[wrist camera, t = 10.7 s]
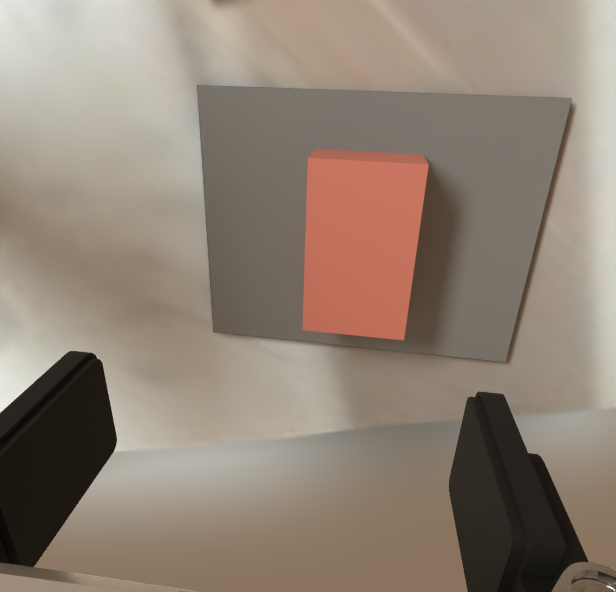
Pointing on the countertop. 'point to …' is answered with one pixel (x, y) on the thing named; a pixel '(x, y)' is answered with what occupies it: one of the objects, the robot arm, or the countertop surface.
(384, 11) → the countertop surface
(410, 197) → the card box
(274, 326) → the mat
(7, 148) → the countertop surface
